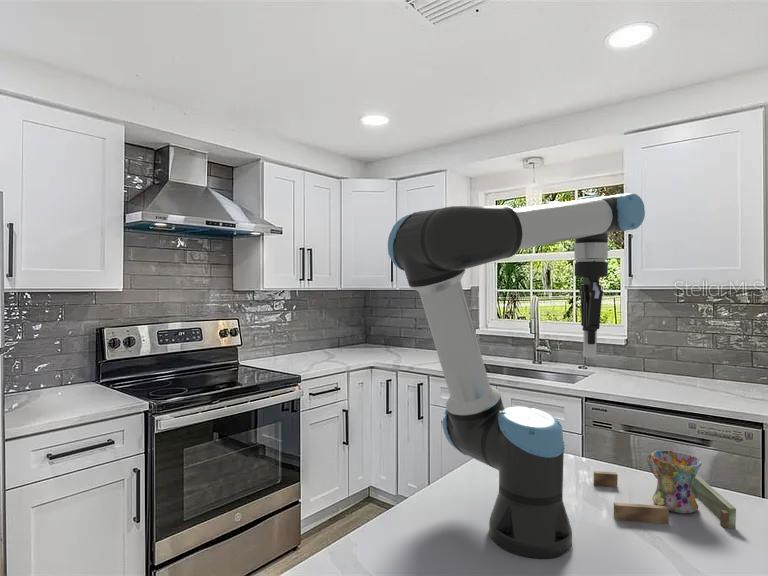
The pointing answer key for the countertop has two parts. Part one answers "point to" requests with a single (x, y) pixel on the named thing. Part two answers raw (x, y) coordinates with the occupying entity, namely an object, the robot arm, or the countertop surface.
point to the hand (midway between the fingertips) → (589, 356)
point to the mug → (675, 480)
